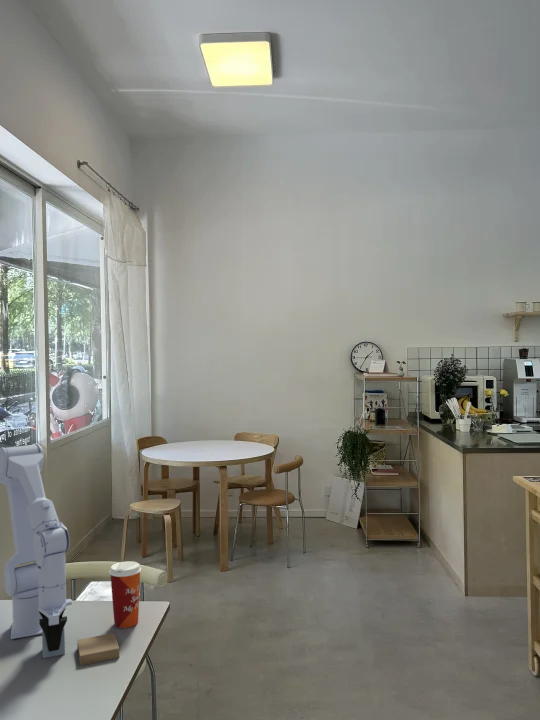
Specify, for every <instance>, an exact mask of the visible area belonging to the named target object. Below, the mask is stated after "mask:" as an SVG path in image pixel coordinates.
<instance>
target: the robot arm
mask: <svg viewBox="0 0 540 720" xmlns="http://www.w3.org/2000/svg"><path fill="white" fill-rule="evenodd" d="M44 461H45V453H44V449H43V447H42V446H41V445H40V444H39V443H35V444H28V445H27V444H26V445H21V446H20V445H19V446H11V447H10V446H9V447H3V446H2V447H0V484H2V485H5V488H6V493H7V497H8V498H7V499H8V505H9V507H8V508H9V513H10V522H11V531H12V532H11V533H12V539H13V545H14V547H13V548H14V554H12V556H10V558H9V559H7V561H6V562H5V564H4V567H3V571H4V573H3V575H4V576H3V586H4V589H5V593H6V594H7V595H8V596H10V597H12V600H11V601H12V622H11V629H10V639H11V640H15V639H20V638H26V637H33V636H38V635H42V630H43V632H44V634H45V637H46V642H47V647H48V650H49V652H50V651H56V650H59V647H60V642H61V636H62V631H63V628H64V629H65V626H66V624H67V622H68V616H67V615H66V616H64V613H65V611H66V609H67V606H71V605H72V604H73V601H72V599H71V598H67V584H66V583H67V571H66V569H67V567H66V553H67V552H68V551H69V550H70V546H71V538H70V533H69V530H68V528H67V527H66V525H64V523H63V522H62V521H60V519H59V517H58V514H57V511H56V508H55V505H54V503H53V500H52V499H50V498H49V499H48V498H47V497H46V492H45V487H44V483H43V478H42V474H41V472H42V470H43V467H44ZM33 562H34V563H33ZM28 563H29V564H28ZM23 564H25V565H23ZM19 565H21V566H19Z"/></svg>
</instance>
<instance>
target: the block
mask: <svg viewBox="0 0 540 720" xmlns="http://www.w3.org/2000/svg"><path fill="white" fill-rule="evenodd" d="M65 639H66V638H65V627H64V628H63V631H62V636H61V642H60V647H59V650H56V651H50V652H49V650H48V647H47V642H46V637H45V634H44V632H43V630H42V634H41V641H42V643H41V644H42V659H46V658H51V657H58V656H61V655H65V654H66V651H65V650H66V648H65V647H66V646H65V643H66V641H65Z"/></svg>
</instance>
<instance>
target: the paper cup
mask: <svg viewBox="0 0 540 720" xmlns="http://www.w3.org/2000/svg"><path fill="white" fill-rule="evenodd" d="M141 571H142V568H141V566H140V563H138V562H137V561H131V560H130V561H127V560H126V561H119V562H116V563H114V564H112V565H111V566H110V570H109V571H108V573H109V575H110V587H111V588H110V589H111V597H112V599H111V600H112V609H113V610H112V612H113V622H114V626H115V628H118V629H128V628H132V627H134V626H136V625H138V623H139V608H140V579H141Z"/></svg>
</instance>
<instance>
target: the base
mask: <svg viewBox="0 0 540 720" xmlns="http://www.w3.org/2000/svg"><path fill="white" fill-rule="evenodd" d="M77 653H78V659H79V666H84V665H89V664H90V665H91V664H94V663H95V664H96V663H99V662H104V661H109V660H113V659H114V660H115V659H118V658H119V659H120V646H119V644H118V641H117V638H116V633H115V632H111V633H106V634H102V635H95V636H90V637H86V638H80V639H77Z"/></svg>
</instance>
